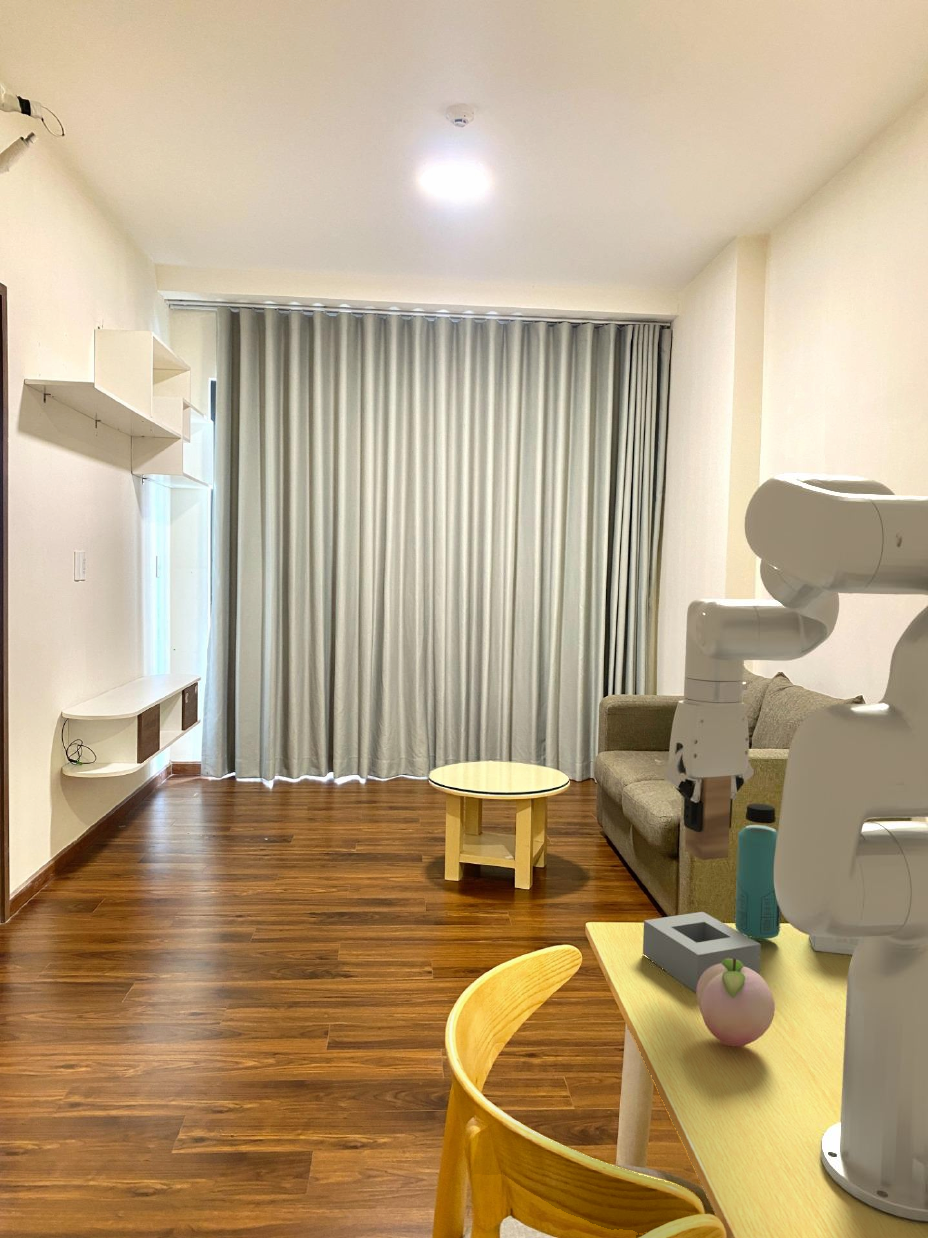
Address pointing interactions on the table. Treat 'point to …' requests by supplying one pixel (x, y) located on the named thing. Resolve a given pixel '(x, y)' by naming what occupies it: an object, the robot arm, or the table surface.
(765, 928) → the beverage bottle
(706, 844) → the walnut peg
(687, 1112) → the table surface
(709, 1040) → the table surface
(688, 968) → the socket block
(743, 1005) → the decorative fruit
